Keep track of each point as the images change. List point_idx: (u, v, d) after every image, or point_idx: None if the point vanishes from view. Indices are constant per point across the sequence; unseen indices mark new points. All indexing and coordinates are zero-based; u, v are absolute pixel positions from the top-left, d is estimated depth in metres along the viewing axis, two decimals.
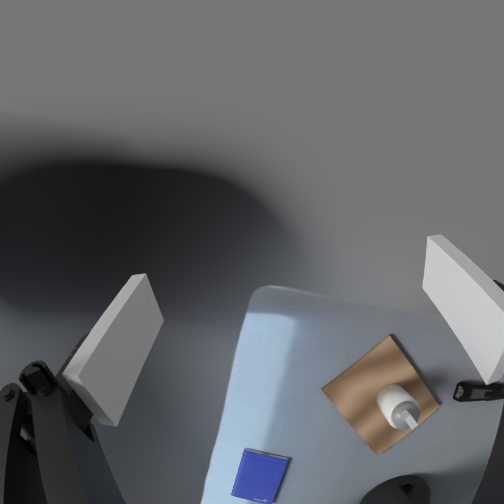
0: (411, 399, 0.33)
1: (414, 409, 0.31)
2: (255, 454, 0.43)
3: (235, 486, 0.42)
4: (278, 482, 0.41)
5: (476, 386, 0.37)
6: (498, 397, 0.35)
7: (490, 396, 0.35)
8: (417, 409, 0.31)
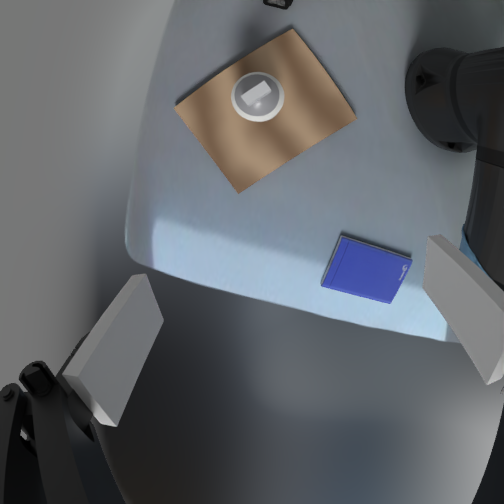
0: (235, 86, 0.25)
1: (245, 84, 0.23)
2: (329, 275, 0.42)
3: (377, 299, 0.43)
4: (377, 251, 0.40)
5: None
6: None
7: None
8: (246, 79, 0.23)
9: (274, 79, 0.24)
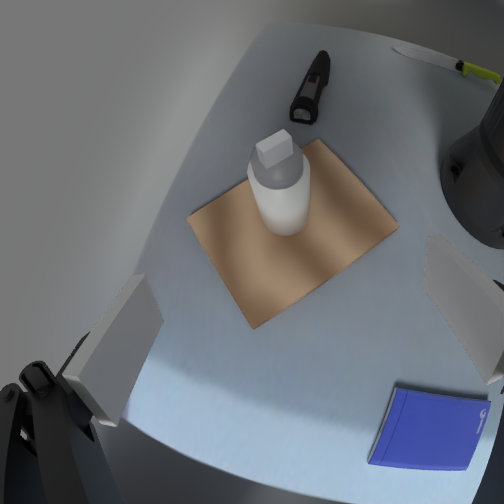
0: None
1: None
2: (380, 445, 0.21)
3: (448, 467, 0.18)
4: (445, 399, 0.21)
5: (297, 93, 0.35)
6: (322, 67, 0.36)
7: (317, 75, 0.35)
8: None
9: None
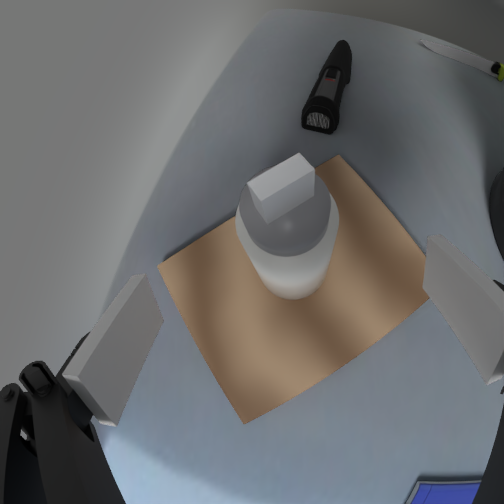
0: None
1: None
2: None
3: None
4: (471, 487, 0.12)
5: (311, 92, 0.26)
6: (343, 59, 0.27)
7: (337, 69, 0.26)
8: None
9: None
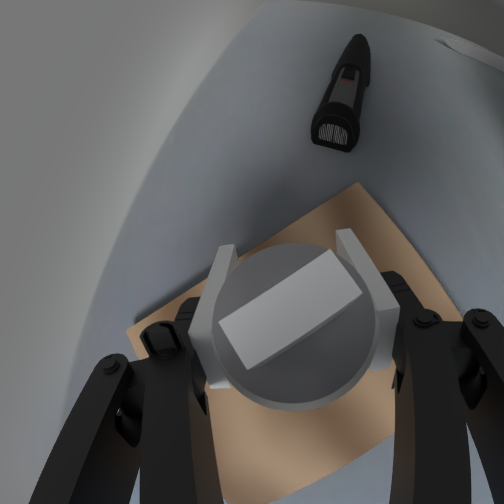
0: None
1: (254, 278, 0.07)
2: None
3: None
4: None
5: (324, 96, 0.20)
6: (362, 57, 0.21)
7: (355, 69, 0.21)
8: (259, 259, 0.08)
9: None
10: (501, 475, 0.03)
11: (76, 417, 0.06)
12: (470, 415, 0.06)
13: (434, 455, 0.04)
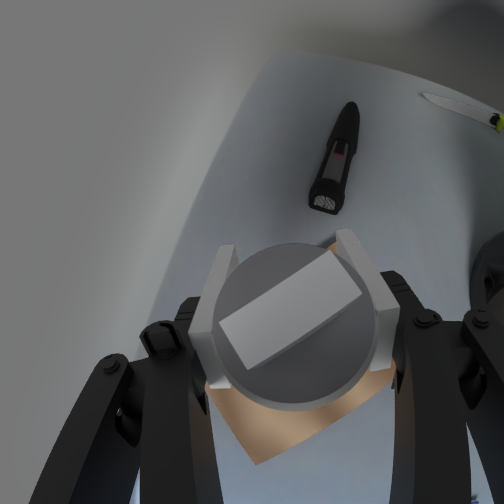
0: None
1: (254, 278, 0.07)
2: None
3: None
4: None
5: (320, 170, 0.30)
6: (352, 128, 0.31)
7: (345, 142, 0.30)
8: (259, 260, 0.08)
9: None
10: (501, 475, 0.03)
11: (76, 417, 0.06)
12: (470, 414, 0.06)
13: (434, 455, 0.04)
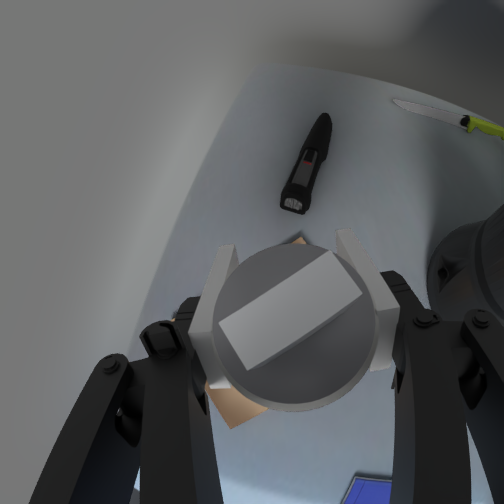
0: None
1: (254, 278, 0.07)
2: None
3: None
4: None
5: (290, 176, 0.35)
6: (322, 138, 0.36)
7: (314, 151, 0.35)
8: (259, 260, 0.08)
9: None
10: (501, 475, 0.03)
11: (76, 417, 0.06)
12: (470, 415, 0.06)
13: (434, 455, 0.04)
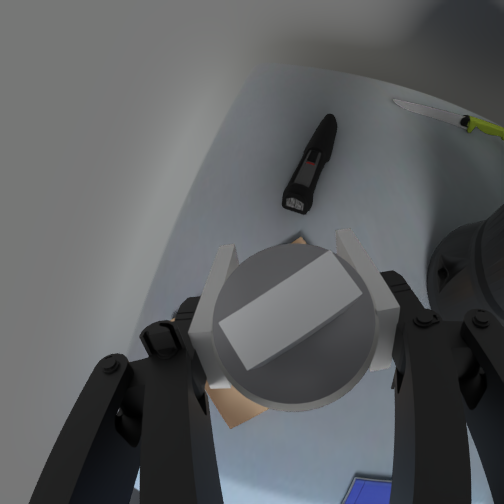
0: None
1: (254, 278, 0.07)
2: None
3: None
4: None
5: (293, 175, 0.35)
6: (326, 139, 0.36)
7: (318, 151, 0.35)
8: (259, 260, 0.08)
9: None
10: (501, 475, 0.03)
11: (76, 417, 0.06)
12: (470, 414, 0.06)
13: (434, 455, 0.04)
